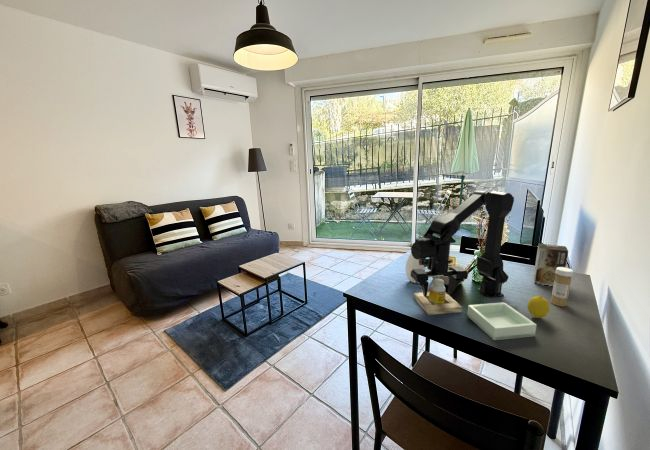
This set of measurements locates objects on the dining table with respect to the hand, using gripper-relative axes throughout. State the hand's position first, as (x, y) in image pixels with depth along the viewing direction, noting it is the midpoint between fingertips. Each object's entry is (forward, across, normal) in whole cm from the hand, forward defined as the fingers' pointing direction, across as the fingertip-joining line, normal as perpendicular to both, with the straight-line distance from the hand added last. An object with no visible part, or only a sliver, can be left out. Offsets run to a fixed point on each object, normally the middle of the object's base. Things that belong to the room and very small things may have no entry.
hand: (437, 295), depth 100 cm
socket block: (+4, 0, 0) cm, 4 cm away
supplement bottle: (+4, 0, 0) cm, 4 cm away
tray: (+4, -13, +15) cm, 20 cm away
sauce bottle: (+4, 0, -19) cm, 19 cm away
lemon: (+4, -28, +13) cm, 31 cm away
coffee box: (+4, -53, -9) cm, 54 cm away
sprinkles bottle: (+4, -43, +6) cm, 44 cm away
